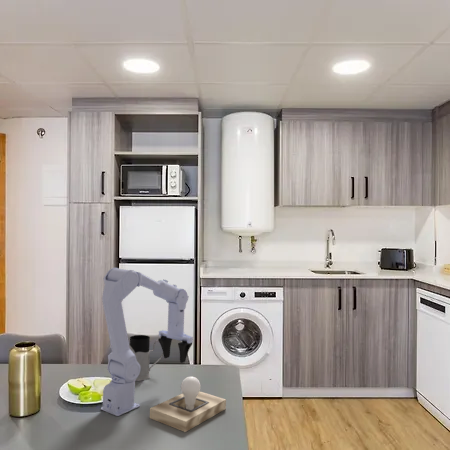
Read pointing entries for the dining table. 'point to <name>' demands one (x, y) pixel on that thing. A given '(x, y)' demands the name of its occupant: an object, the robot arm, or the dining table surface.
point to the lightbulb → (190, 391)
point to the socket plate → (187, 411)
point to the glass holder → (142, 354)
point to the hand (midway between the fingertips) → (174, 359)
